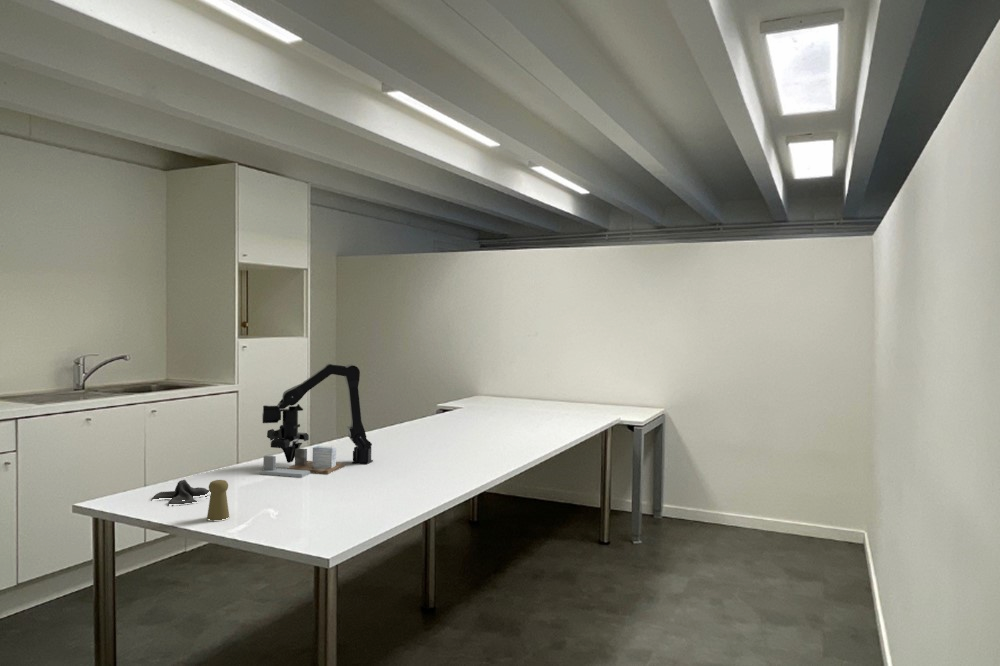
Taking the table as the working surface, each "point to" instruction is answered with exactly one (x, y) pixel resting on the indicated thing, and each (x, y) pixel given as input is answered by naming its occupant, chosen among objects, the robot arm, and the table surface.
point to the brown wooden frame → (310, 463)
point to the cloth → (182, 493)
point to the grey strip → (272, 470)
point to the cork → (218, 500)
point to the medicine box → (324, 457)
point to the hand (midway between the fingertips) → (290, 462)
